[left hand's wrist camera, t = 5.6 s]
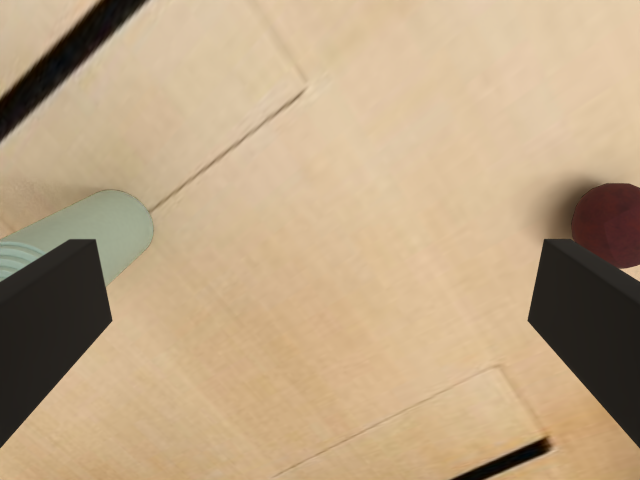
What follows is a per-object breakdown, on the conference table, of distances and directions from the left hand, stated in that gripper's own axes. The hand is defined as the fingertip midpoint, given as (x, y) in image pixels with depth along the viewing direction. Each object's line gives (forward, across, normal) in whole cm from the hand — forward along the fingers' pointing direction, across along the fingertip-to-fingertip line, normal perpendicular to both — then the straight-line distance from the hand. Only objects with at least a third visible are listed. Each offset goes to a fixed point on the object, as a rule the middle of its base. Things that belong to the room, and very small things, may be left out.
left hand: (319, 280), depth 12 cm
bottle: (+28, -20, -8) cm, 35 cm away
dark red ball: (+28, +27, -6) cm, 39 cm away
